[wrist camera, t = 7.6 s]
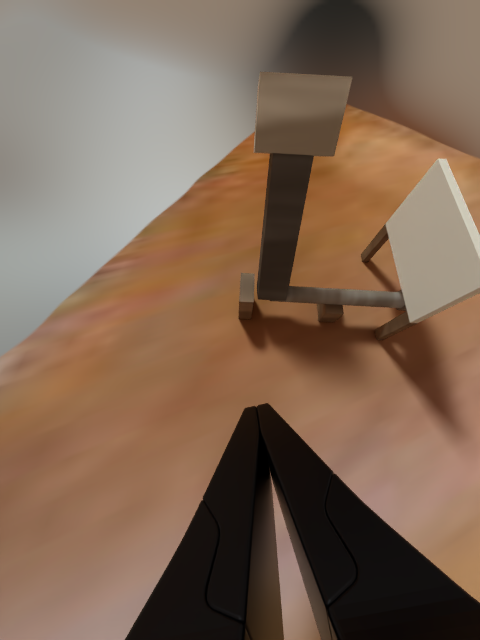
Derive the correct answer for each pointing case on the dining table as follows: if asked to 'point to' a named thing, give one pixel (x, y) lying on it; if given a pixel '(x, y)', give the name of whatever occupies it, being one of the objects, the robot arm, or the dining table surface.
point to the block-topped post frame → (299, 179)
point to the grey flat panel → (435, 245)
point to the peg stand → (329, 310)
